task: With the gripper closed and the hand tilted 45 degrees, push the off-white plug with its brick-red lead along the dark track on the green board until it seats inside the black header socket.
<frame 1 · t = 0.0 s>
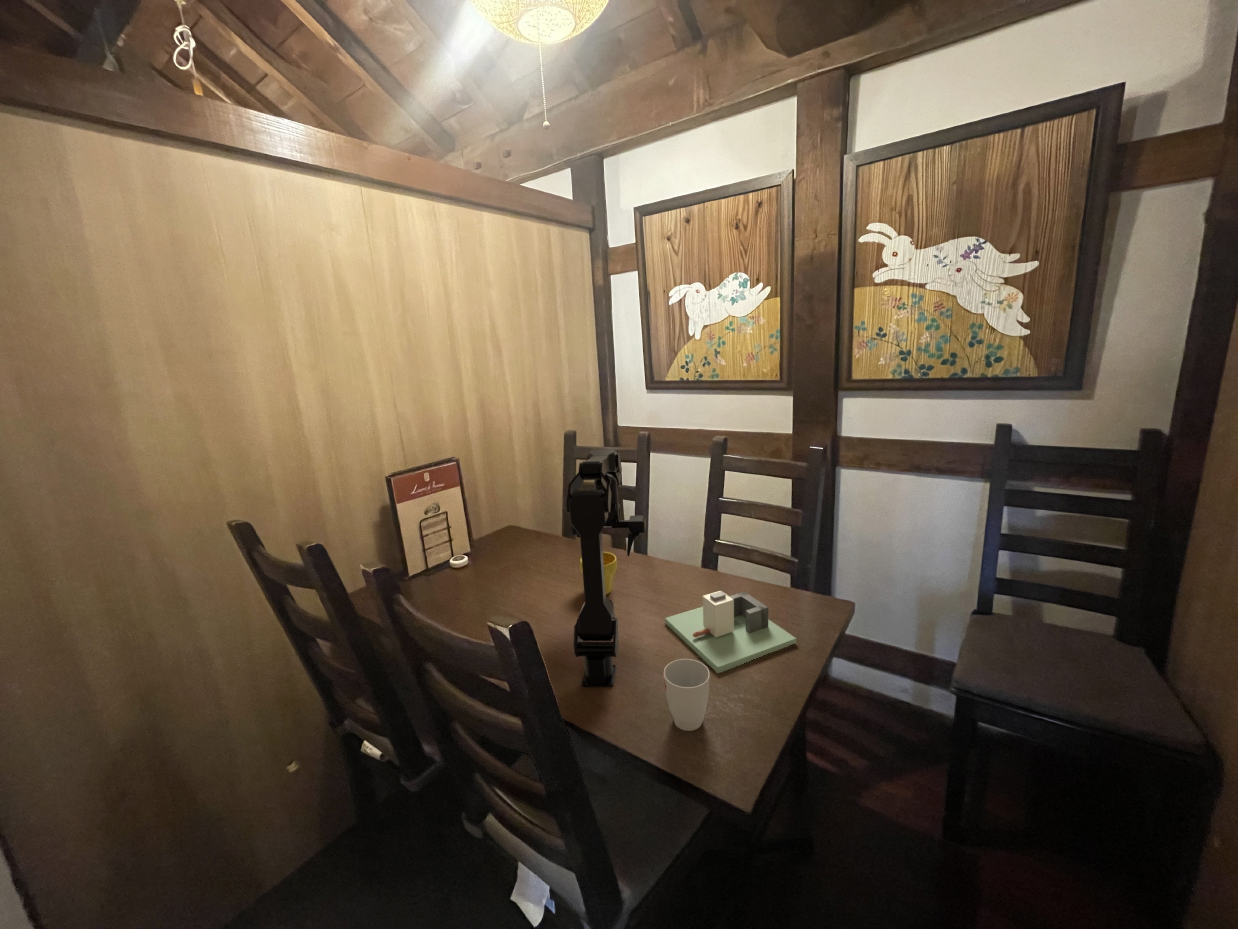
hand: (610, 556, 128), 15 cm above the table, tool pointing down, fingers open, 9 cm apart
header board: (727, 633, 117), on the table
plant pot: (600, 591, 142), on the table
plug: (713, 613, 114), point 6 cm above the table, slide at 0.0 cm
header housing: (746, 611, 118), point 4 cm above the table
cup: (688, 721, 91), on the table
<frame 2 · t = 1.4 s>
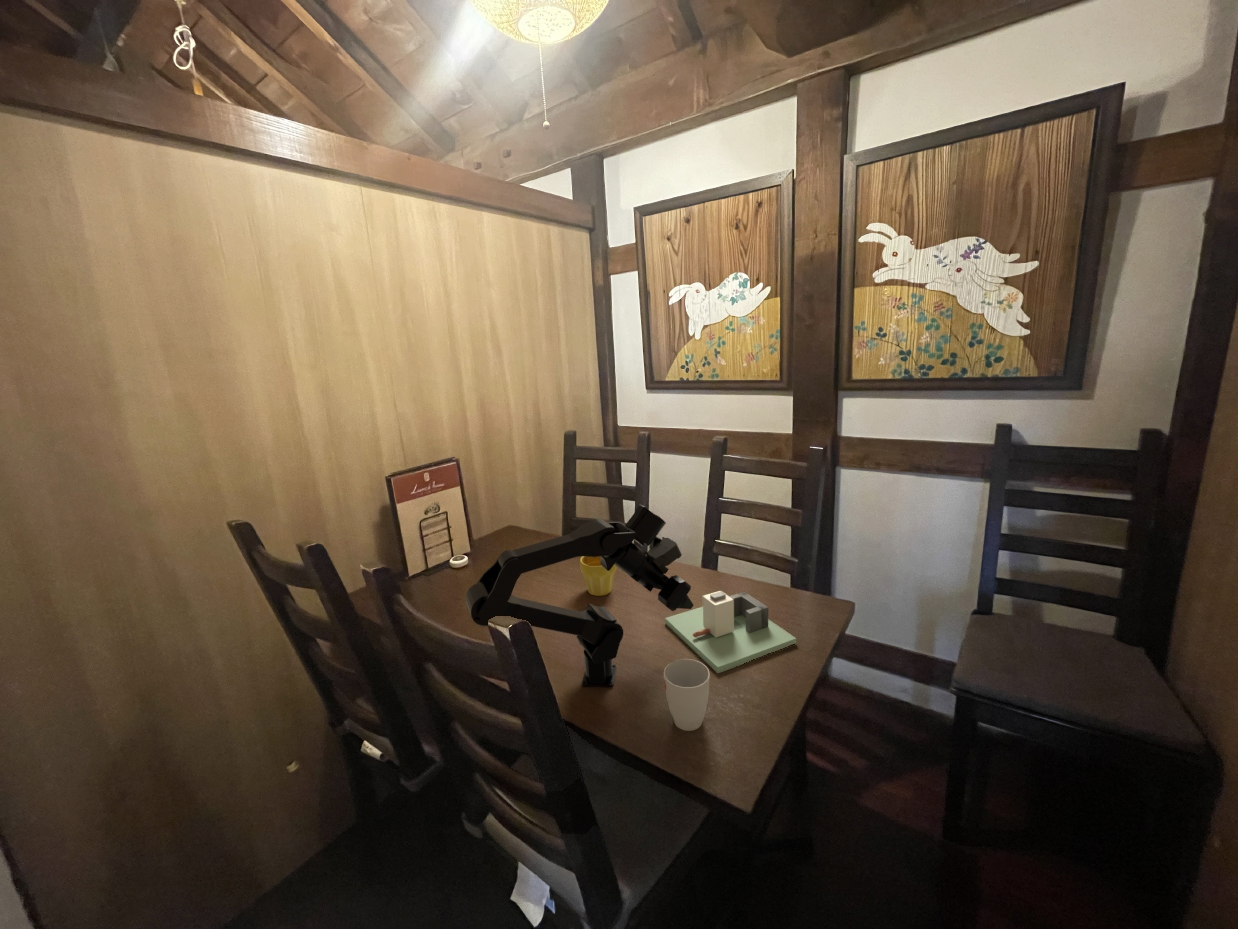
hand: (680, 597, 110), 12 cm above the table, tool tilted 45°, fingers open, 9 cm apart
nothing on the table moved.
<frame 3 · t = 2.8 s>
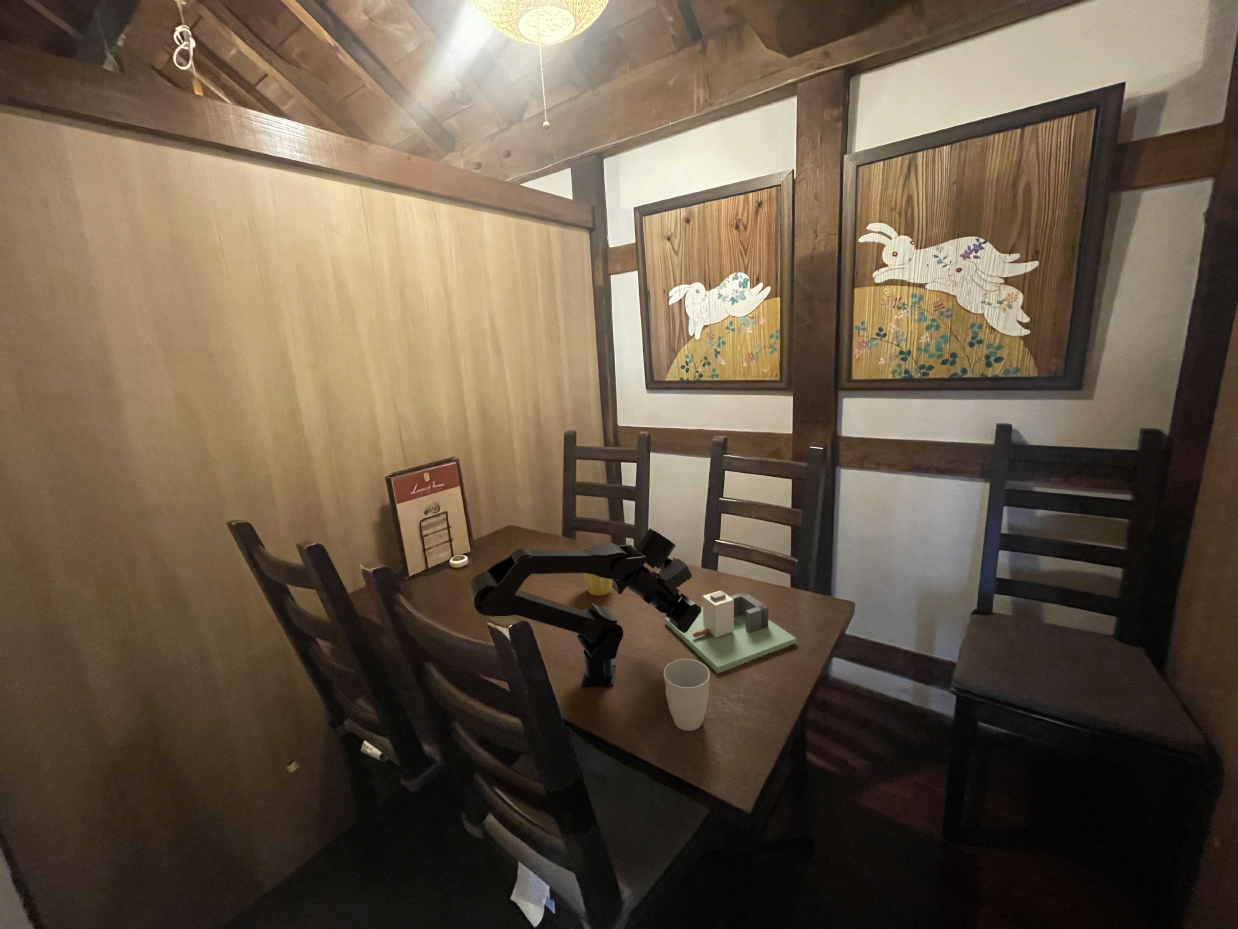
hand: (691, 616, 112), 7 cm above the table, tool tilted 45°, fingers closed
nothing on the table moved.
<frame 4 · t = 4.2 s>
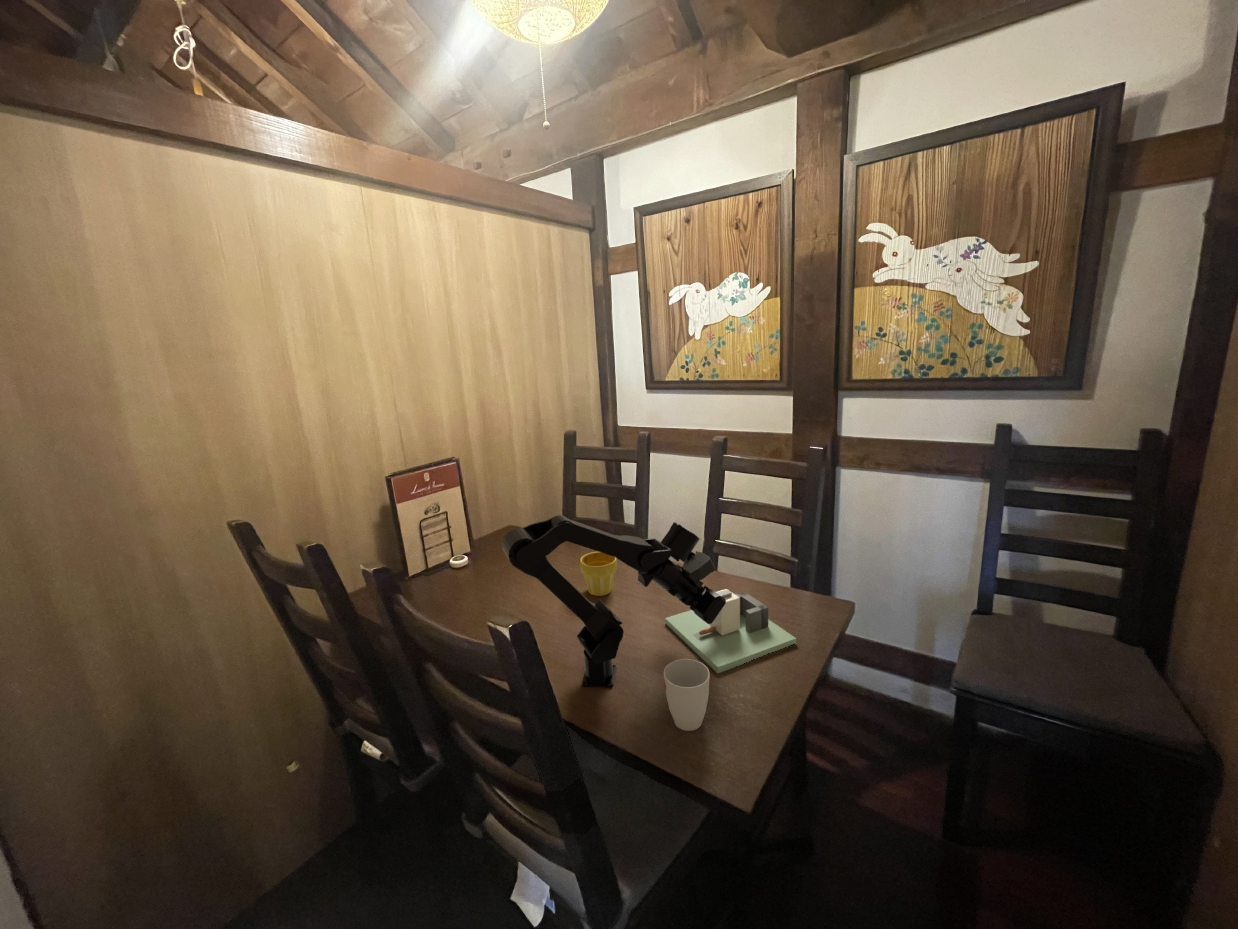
hand: (714, 609, 114), 7 cm above the table, tool tilted 45°, fingers closed, pressing on plug
plug: (719, 611, 115), point 6 cm above the table, slide at 1.7 cm, touching gripper
everything else where it was.
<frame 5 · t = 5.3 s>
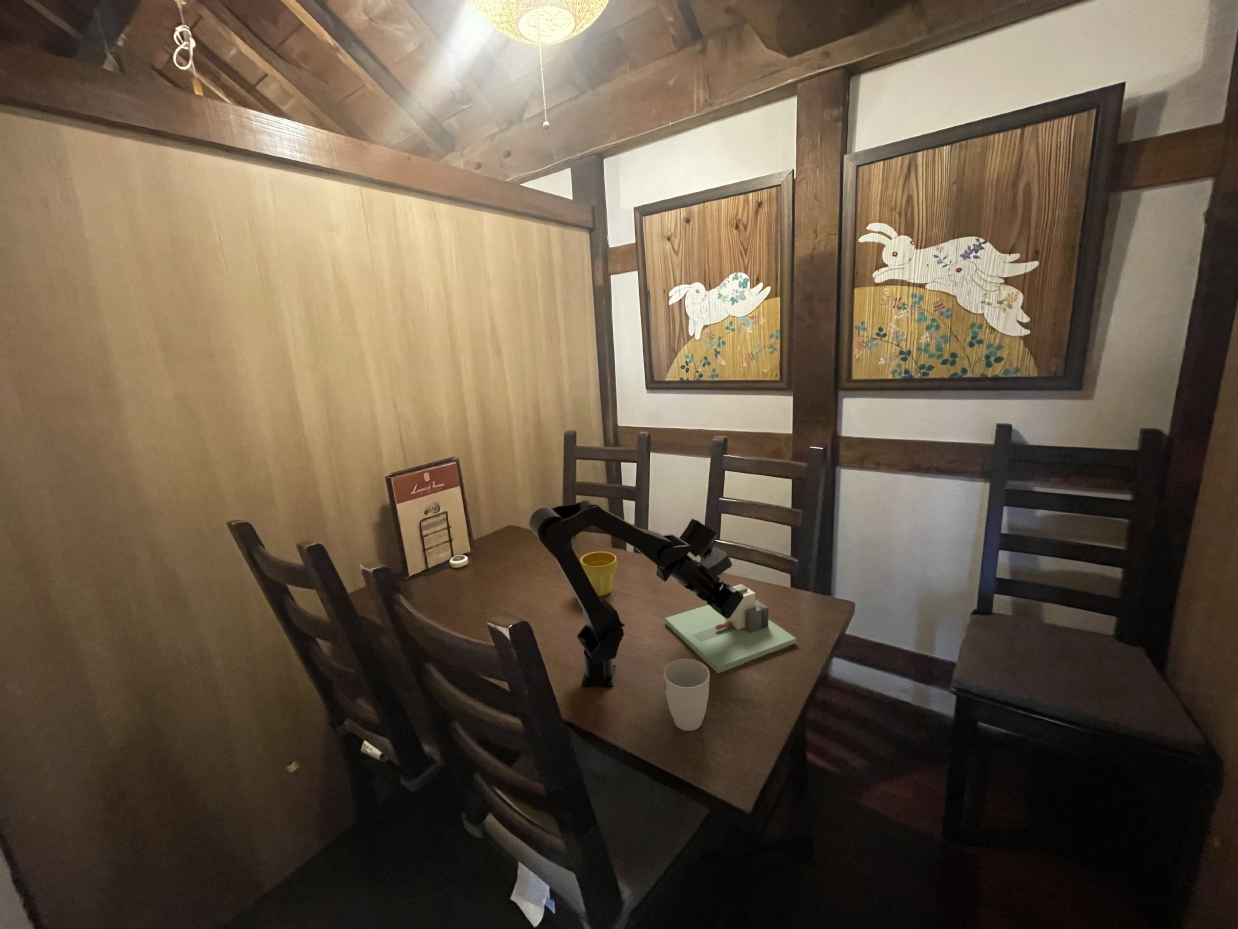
hand: (730, 604, 116), 7 cm above the table, tool tilted 45°, fingers closed, pressing on plug
plug: (735, 606, 116), point 6 cm above the table, slide at 6.1 cm, touching gripper
everything else where it was.
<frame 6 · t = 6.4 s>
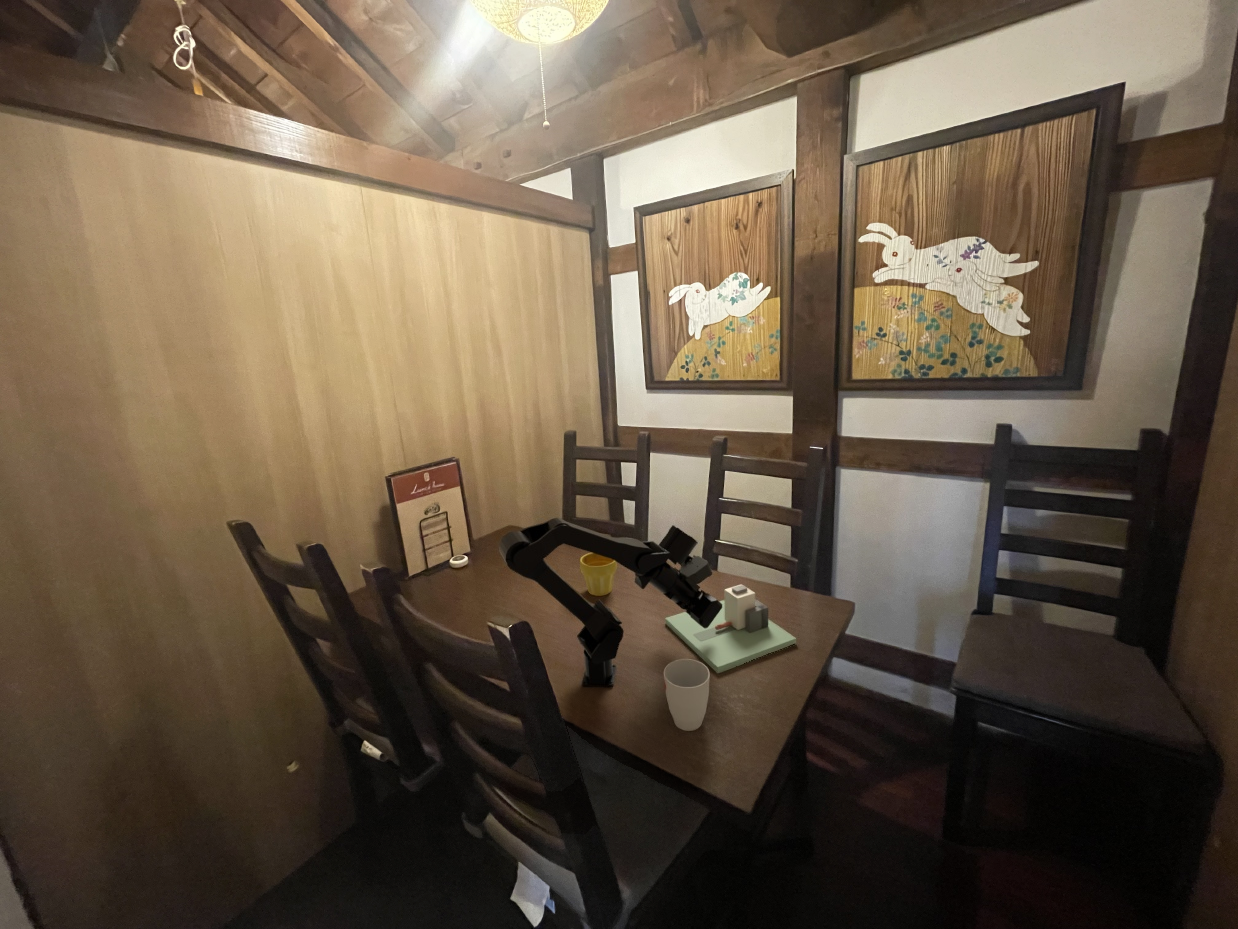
hand: (710, 613, 114), 6 cm above the table, tool tilted 45°, fingers closed
plug: (734, 606, 116), point 6 cm above the table, slide at 6.1 cm
everything else where it was.
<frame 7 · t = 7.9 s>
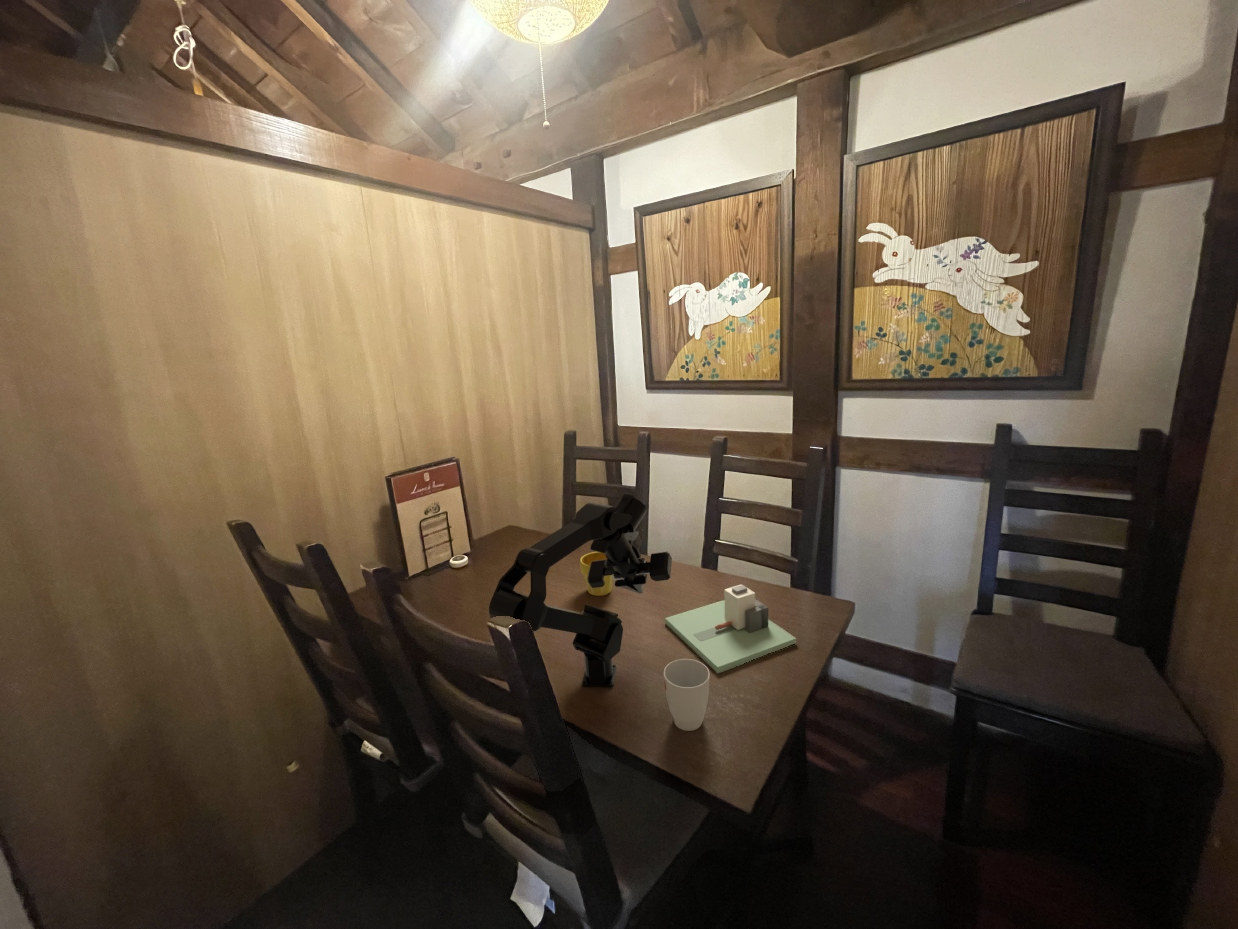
hand: (641, 591, 114), 12 cm above the table, tool tilted 30°, fingers closed
nothing on the table moved.
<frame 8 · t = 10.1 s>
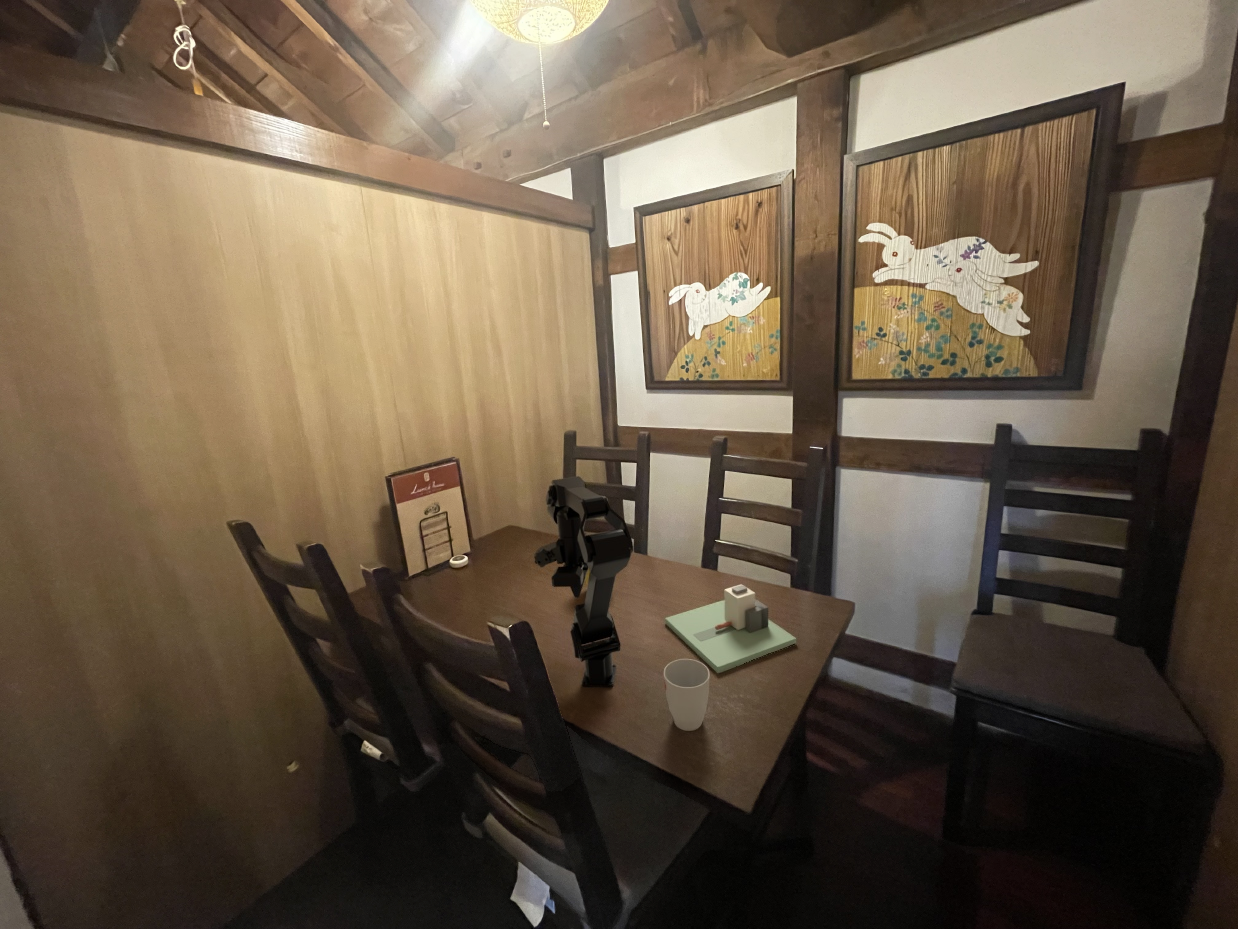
hand: (577, 596, 114), 12 cm above the table, tool pointing down, fingers closed
nothing on the table moved.
at the end: plug slide at 6.1 cm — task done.
